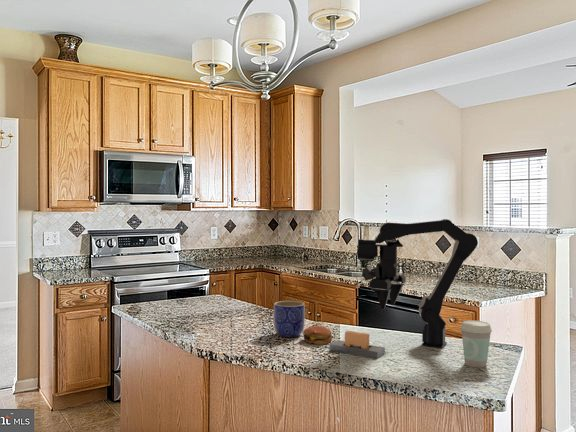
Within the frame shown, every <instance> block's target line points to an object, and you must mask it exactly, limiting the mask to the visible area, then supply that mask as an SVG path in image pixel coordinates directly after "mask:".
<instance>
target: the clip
mask: <svg viewBox="0 0 576 432" xmlns="http://www.w3.org/2000/svg"><path fill="white" fill-rule="evenodd" d="M344 341H345V346H349V347H352V346H353V345H358V346H361V348H362V349H369V345H370V333H366V332H359V331H352V330H347V331H345V332H344Z"/></svg>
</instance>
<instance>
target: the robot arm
mask: <svg viewBox="0 0 576 432" xmlns="http://www.w3.org/2000/svg"><path fill="white" fill-rule="evenodd" d="M439 232H444V233H446V235H448V236H449V237H450V238H451V239H452V240H454V242H453V243H454V244H453V247H452V252H451V256H450V258H449V260H448V262H447V263H446V265H445V267H444V269H443V271H442V273H441V274H440V276H439V279H438V280H437V282H436V284H435V286H434V288H433V289H432V291H431V293H430V294H429V295H428V296H426V294H423V296H422V298H421V302H419V303H418V307H419V308H418V314H419V316H420V318H421V319H422V321H423V322H425V323H426V324H424V325H423V328H422V330H421V331H422V332H421V334H422V335H421V336H422V337H421V338H422V339H421V342H422V344H421V345H423V346H425V347H427V346H428V347H433V348H435V347H436V348H444V346H445V345H447V344H448V343H447V341H446V324H447V323H446V321H445V320H444V319H443V317H442V316H441V315H440V314H441V310H442V307H443V301H444V299H445V298H446V297H445V296H447V293H448V291H449V289H451V288H450V287H451V285H452V284H453V282H454V281H455V279H456V276H457V274H458V272H459V271H460V269H461V267H462V265H463V263H464V262H465V261H466V260H467V259H468V258H469V257H470V256H471V255H472V253H473V252H474V251H475V250H476V249H477V247H478V244H479V241H478V238H477V237H476V235H474V234H473V233H469V232H466V231H464V230H463V229H461V228H460V227H459V226H457V225H456V224H455V223H453V222H452V220H451V219H447V218H443V219H439V220H438V219H437V220H431V221H430V220H429V221H422V222H421V221H420V222H412V223H405V222H404V223H402V222H384V223H383V224H381V226H380V227H379V233H378V234H377V235H376V236H375V237H374V239H363V238H362V239H359V238H358V240H357V251H356V252H357V254H356V255H357V256H356V257H357V260H360V261H361V260H365V261H367V260H370V261H371V260H372V261H374V260H375V258H378V255H379V261H378V262H377V264H376V267H375V268H370V267H369V266H367V267H364V268H362V271H361V277H363V278H364V281H369V282H368V288H370V290H371V291H373V292H374V293H375V294H376V297H377V300H378V302H379V307H380V309H381V310H385V308H386V306H387V303H388V300H389V301H390V305H393V306H394V305H395V303H396V302H397V299H398V297H399V296H400V293H401V291H402V289H403V287H404V286H405V284H406V280H407V278H406V276H405V275H404V273H402V274H401V273H398V267H399V266H400V263H398V248H403V246H404V245H403V244H402V243H401V241H400V240H399V239H400V238H403V237H406V236H409V235H418V234H419V235H420V234H427V233H428V234H430V233H439ZM392 240H395V241H392ZM385 241H386V242H385ZM383 242H385V243H386V244H383ZM378 247H379V250H378ZM378 253H379V254H378Z"/></svg>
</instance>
